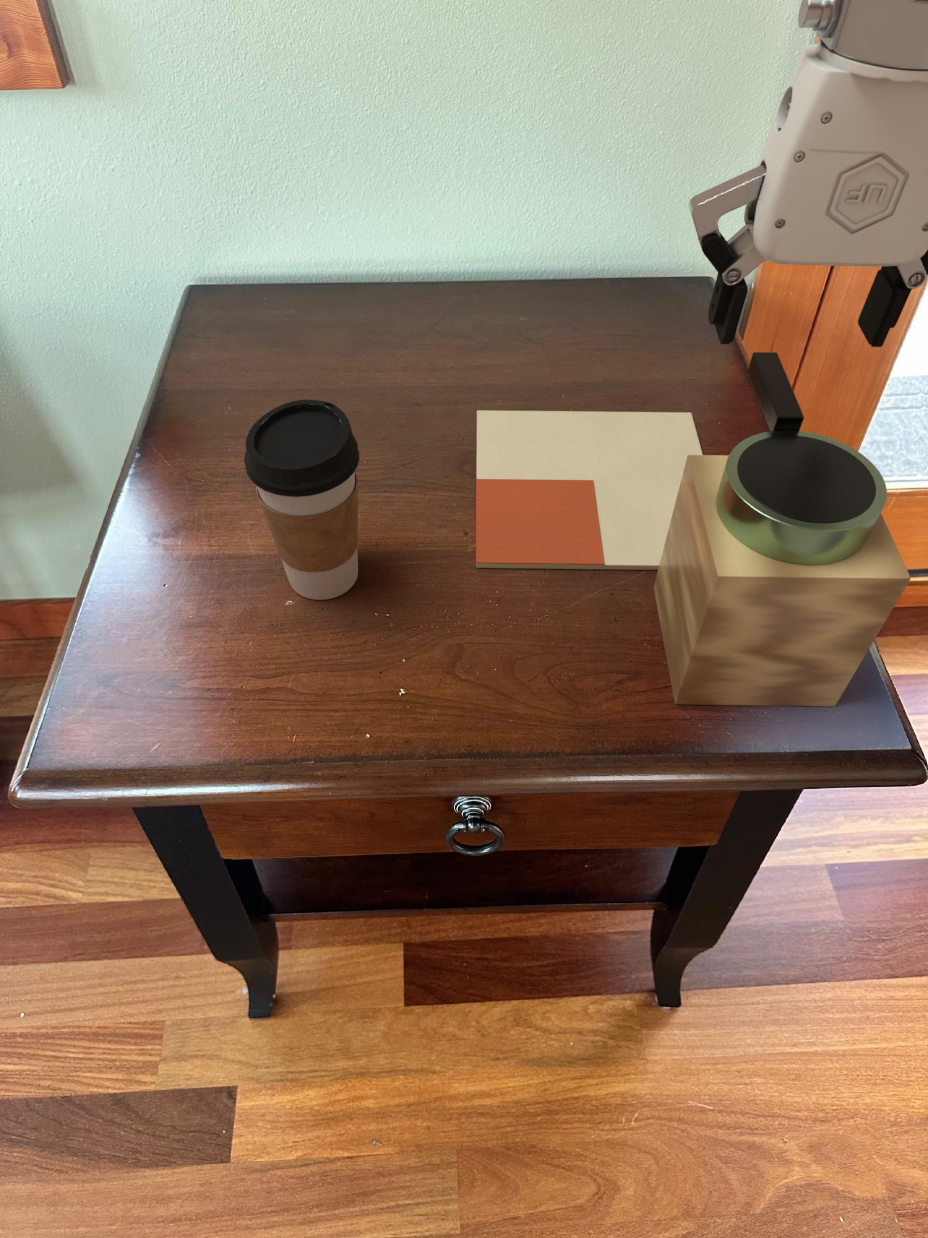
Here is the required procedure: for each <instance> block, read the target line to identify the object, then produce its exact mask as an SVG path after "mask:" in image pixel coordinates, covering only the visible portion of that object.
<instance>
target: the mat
mask: <svg viewBox="0 0 928 1238" xmlns="http://www.w3.org/2000/svg"><path fill="white" fill-rule="evenodd" d="M701 447H702V446H701V443H700V440H699V435H698V432H697V428H696V424H695V421H694V418H693V414H692V412H685V411H683V412H682V411H681V412H680V411H679V412H675V411H673V412H672V411H671V412H669V411H663V412H662V411H587V410H586V411H585V410H584V411H578V410H576V411H573V410H571V411H570V410H568V411H567V410H480V409H479V410H477V411H476V466H475V467H476V468H475V469H476V472H475V473H476V475H475V476H476V477H475V480H476V481H475V485H476V487H475V493H476V495H475V509H476V510H475V513H476V514H475V568H476V569H532V570H533V569H537V570H539V569H540V570H541V569H542V570H618V571H619V570H623V571H624V570H626V571H627V570H628V571H629V570H630V571H634V570H635V571H641V570H642V571H658V568H659V564H660V560H661V557H662V553H663V549H664V545H665V541H666V537H667V533H668V529H669V525H670V522H671V518H672V514H673V510H674V506H675V502H676V498H677V494H678V491H679V487H680V483H681V479H682V475H683V471H684V467H685V463H686V459H687V456H688V455H704V454H703V451H702V448H701Z"/></svg>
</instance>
